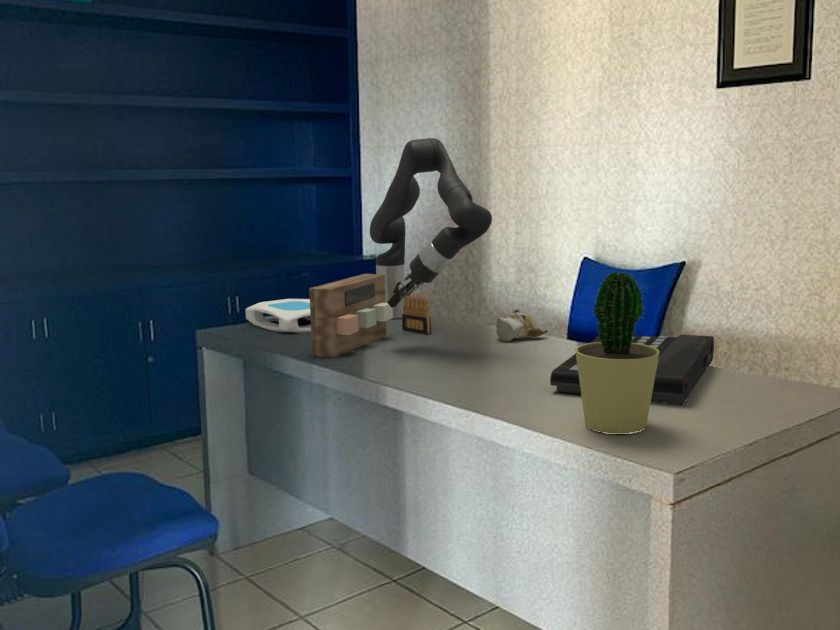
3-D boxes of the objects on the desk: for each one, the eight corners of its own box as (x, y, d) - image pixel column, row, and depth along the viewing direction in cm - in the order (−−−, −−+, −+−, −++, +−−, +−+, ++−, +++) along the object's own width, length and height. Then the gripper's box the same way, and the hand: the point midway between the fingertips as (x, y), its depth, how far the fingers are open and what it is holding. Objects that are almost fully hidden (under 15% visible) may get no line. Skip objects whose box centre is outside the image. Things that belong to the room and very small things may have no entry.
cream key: (367, 320, 245) (366, 305, 244) (376, 317, 249) (375, 302, 249) (384, 321, 242) (383, 306, 241) (392, 318, 247) (392, 303, 246)
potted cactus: (557, 427, 163) (558, 270, 158) (603, 409, 174) (606, 262, 169) (628, 444, 153) (632, 277, 147) (672, 425, 163) (677, 267, 158)
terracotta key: (330, 333, 227) (329, 317, 226) (340, 329, 232) (340, 313, 231) (348, 335, 224) (347, 318, 224) (358, 331, 229) (358, 315, 228)
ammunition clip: (431, 334, 253) (430, 293, 251) (427, 335, 252) (426, 294, 249) (406, 329, 260) (405, 290, 258) (401, 330, 259) (400, 291, 257)
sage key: (349, 326, 236) (348, 311, 235) (359, 323, 240) (358, 307, 240) (367, 328, 233) (366, 312, 233) (376, 324, 238) (375, 308, 237)
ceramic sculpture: (486, 308, 242) (525, 305, 251) (484, 339, 244) (523, 335, 252) (511, 314, 234) (551, 310, 242) (509, 345, 235) (549, 341, 244)
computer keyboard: (602, 352, 227) (603, 327, 225) (713, 361, 214) (714, 334, 213) (550, 395, 187) (550, 365, 186) (682, 409, 175) (683, 377, 174)
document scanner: (287, 335, 256) (286, 315, 255) (245, 323, 278) (244, 303, 277) (347, 326, 268) (346, 306, 267) (302, 314, 290) (301, 296, 289)
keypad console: (312, 355, 228) (309, 288, 224) (366, 334, 254) (364, 273, 251) (334, 357, 225) (331, 289, 222) (387, 335, 251) (385, 274, 248)
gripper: (432, 248, 231) (392, 291, 239) (410, 253, 220) (369, 298, 227) (450, 268, 230) (410, 311, 237) (429, 275, 218) (388, 319, 226)
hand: (390, 304), depth 232 cm, fingers closed
